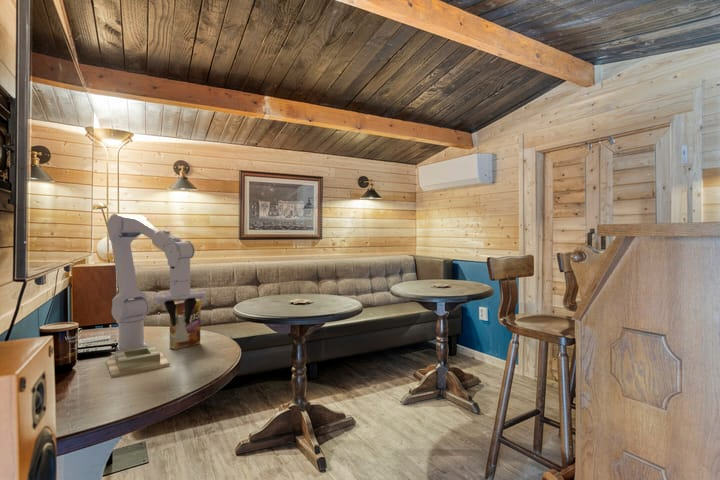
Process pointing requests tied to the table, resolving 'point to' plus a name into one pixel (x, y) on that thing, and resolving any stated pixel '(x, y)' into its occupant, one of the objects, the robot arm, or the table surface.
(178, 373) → the table surface
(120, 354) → the socket stand
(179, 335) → the rook chess piece
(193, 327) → the candy box
